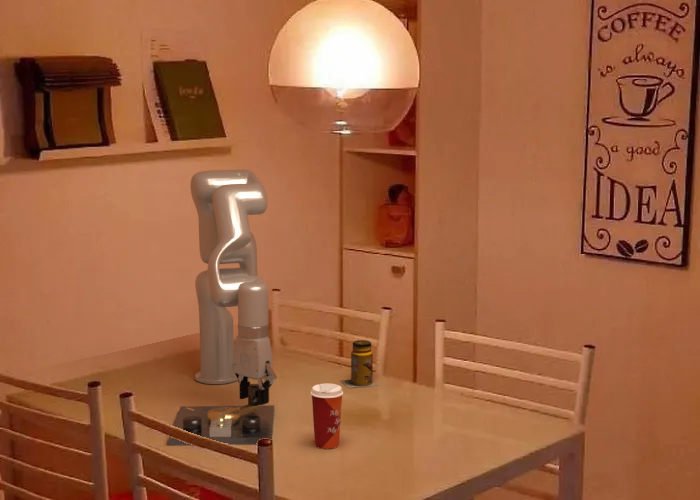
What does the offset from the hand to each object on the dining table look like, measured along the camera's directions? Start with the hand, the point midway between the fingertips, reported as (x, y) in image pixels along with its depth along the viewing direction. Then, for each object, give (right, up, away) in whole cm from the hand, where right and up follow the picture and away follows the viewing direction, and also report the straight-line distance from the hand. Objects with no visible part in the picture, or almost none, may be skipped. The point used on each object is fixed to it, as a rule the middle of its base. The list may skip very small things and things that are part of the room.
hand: (254, 400), depth 263 cm
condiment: (+27, 0, +30) cm, 41 cm away
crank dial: (-4, -3, -4) cm, 7 cm away
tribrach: (-7, -6, -7) cm, 11 cm away
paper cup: (+19, -8, -18) cm, 27 cm away
